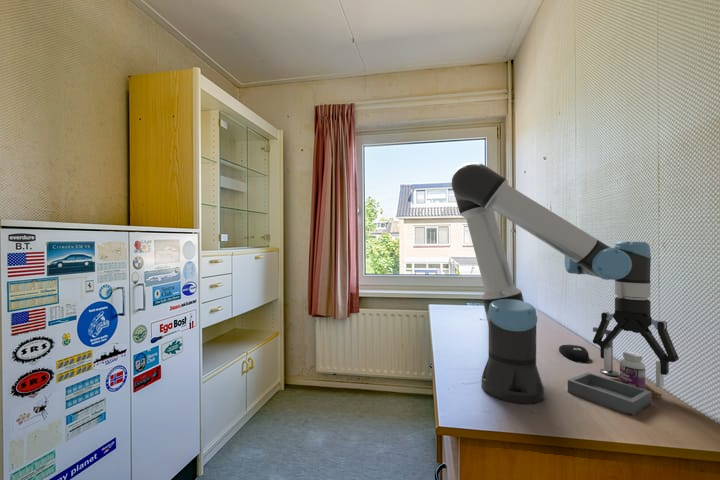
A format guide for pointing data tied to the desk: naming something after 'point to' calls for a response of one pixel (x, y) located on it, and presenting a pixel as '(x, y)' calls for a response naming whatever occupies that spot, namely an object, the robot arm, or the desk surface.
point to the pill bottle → (632, 370)
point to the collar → (653, 392)
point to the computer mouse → (574, 353)
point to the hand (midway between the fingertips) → (632, 378)
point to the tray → (610, 393)
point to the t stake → (611, 373)
